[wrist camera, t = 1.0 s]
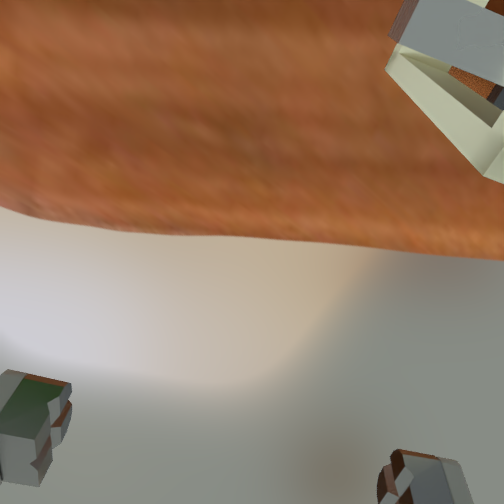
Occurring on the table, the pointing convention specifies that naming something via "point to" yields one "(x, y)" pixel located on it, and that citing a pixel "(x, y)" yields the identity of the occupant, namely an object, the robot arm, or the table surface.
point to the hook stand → (456, 37)
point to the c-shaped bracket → (453, 107)
